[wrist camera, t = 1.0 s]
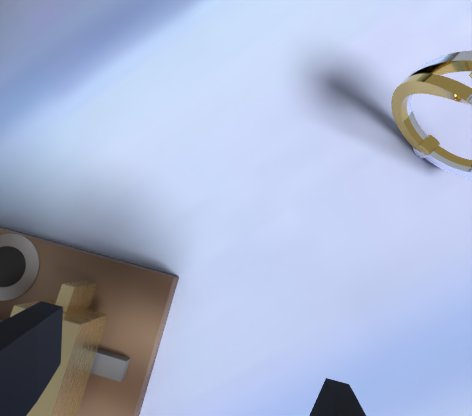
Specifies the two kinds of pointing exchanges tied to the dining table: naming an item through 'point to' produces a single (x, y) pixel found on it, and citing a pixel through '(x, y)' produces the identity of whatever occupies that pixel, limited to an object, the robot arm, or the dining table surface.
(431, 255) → the dining table surface
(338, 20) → the dining table surface
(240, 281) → the dining table surface
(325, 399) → the robot arm
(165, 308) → the flat brown board
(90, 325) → the block
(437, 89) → the ring
